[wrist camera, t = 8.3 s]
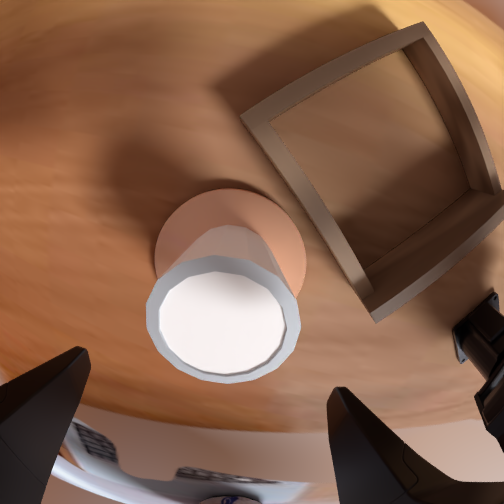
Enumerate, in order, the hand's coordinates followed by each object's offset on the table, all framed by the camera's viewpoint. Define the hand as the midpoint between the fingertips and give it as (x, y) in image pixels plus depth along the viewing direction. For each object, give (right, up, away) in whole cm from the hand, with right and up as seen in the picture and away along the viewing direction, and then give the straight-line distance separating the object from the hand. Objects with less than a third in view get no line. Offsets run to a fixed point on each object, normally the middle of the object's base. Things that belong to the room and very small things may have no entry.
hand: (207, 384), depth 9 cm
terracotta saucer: (0, +4, +10) cm, 11 cm away
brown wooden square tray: (+11, +11, +8) cm, 17 cm away
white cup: (0, +4, +10) cm, 10 cm away
